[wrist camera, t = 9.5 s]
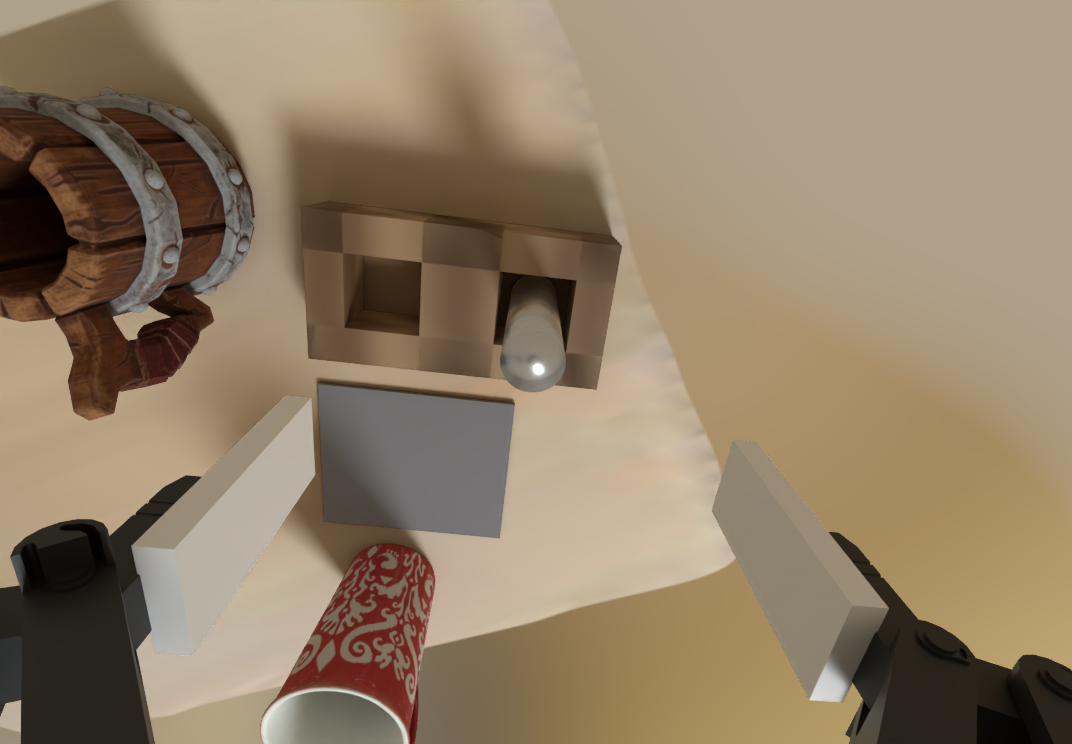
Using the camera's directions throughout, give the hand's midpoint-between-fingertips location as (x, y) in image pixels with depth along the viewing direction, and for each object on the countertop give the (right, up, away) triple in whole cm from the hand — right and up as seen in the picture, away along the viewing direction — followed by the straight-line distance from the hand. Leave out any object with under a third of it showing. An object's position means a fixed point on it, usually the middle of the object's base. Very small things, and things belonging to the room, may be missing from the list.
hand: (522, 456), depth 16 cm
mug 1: (-22, +12, +17) cm, 30 cm away
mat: (-9, -4, +23) cm, 26 cm away
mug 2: (-11, -16, +29) cm, 35 cm away
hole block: (-4, +8, +18) cm, 20 cm away
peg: (0, +8, +19) cm, 20 cm away
